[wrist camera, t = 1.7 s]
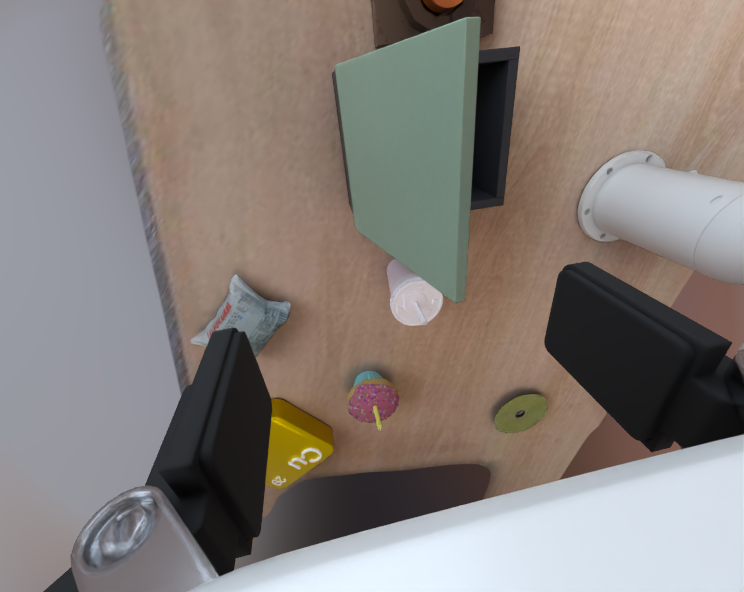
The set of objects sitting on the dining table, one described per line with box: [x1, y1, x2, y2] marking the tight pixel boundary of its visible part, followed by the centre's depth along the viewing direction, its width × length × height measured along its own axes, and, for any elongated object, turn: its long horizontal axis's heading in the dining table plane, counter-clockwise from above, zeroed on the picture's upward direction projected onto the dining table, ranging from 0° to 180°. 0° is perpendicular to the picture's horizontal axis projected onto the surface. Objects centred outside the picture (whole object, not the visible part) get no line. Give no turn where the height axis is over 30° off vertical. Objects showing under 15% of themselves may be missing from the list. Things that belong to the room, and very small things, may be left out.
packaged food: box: [190, 274, 290, 358], centre depth 45 cm, size 9×12×5 cm
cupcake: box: [347, 371, 399, 432], centre depth 52 cm, size 9×8×12 cm
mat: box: [494, 394, 548, 433], centre depth 67 cm, size 11×11×2 cm
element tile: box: [265, 398, 334, 489], centre depth 59 cm, size 15×15×5 cm
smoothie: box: [387, 259, 443, 326], centre depth 42 cm, size 6×6×14 cm
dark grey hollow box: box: [332, 46, 520, 214], centre depth 35 cm, size 16×14×9 cm
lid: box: [335, 17, 481, 303], centre depth 24 cm, size 17×14×1 cm
